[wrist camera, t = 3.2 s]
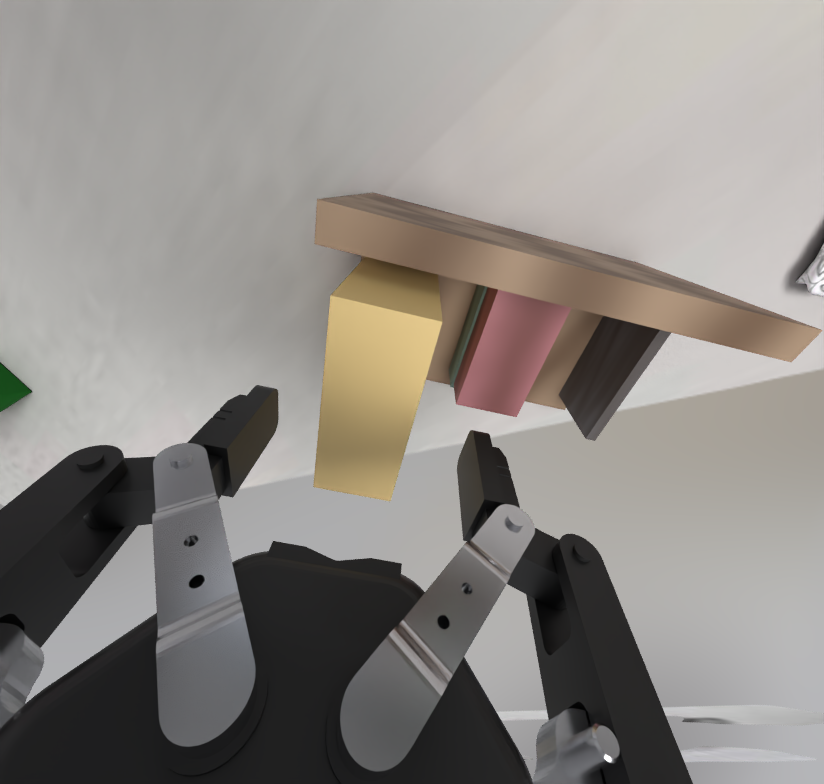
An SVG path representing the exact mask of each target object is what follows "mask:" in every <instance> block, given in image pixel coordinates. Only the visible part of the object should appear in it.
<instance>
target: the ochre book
mask: <svg viewBox="0 0 824 784" xmlns="http://www.w3.org/2000/svg"><path fill="white" fill-rule="evenodd" d="M442 322H443V321H442V312H441V302H440V292H439V282H438V274H434V273H430V272H426V271H421V270H417V269H413V268H409V267H405V266H401V265H397V264H393V263H389V262H385V261H381V260H377V259H373V258H369V257H365V258H364V259H363V260H362V261H361V262H360V263H359V264H358V266H357V267H356V268H355V269H354V270H353V271H352V272H351V273H350V274H349V276H348V277H347V278H346V279H345V280H344V281H343V282H342V283H341V284H340V286H339V287H338V288H337V289H336V290H335V291H334V292H333V293H332V294H331V296H330V307H329V319H328V330H327V341H326V352H325V363H324V374H323V386H322V397H321V408H320V419H319V430H318V441H317V453H316V464H315V475H314V487H316V488H322V489H327V490H332V491H338V492H343V493H349V494H354V495H359V496H365V497H370V498H375V499H381V500H386V501H391V497H392V494H393V490H394V487H395V483H396V480H397V477H398V473H399V469H400V466H401V463H402V459H403V456H404V453H405V449H406V446H407V442H408V439H409V435H410V432H411V429H412V425H413V422H414V418H415V415H416V411H417V408H418V404H419V401H420V398H421V394H422V391H423V387H424V384H425V380H426V377H427V374H428V370H429V367H430V363H431V360H432V356H433V353H434V350H435V346H436V343H437V339H438V336H439V332H440V329H441V325H442Z"/></svg>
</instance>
